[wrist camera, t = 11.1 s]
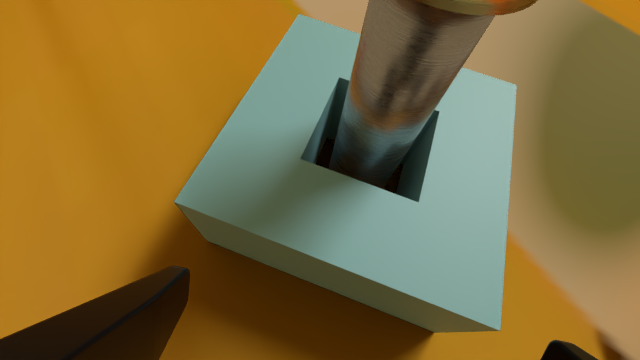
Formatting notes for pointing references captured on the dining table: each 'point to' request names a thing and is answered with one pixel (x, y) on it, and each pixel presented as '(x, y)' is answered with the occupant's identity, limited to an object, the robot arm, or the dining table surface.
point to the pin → (404, 77)
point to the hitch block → (364, 190)
